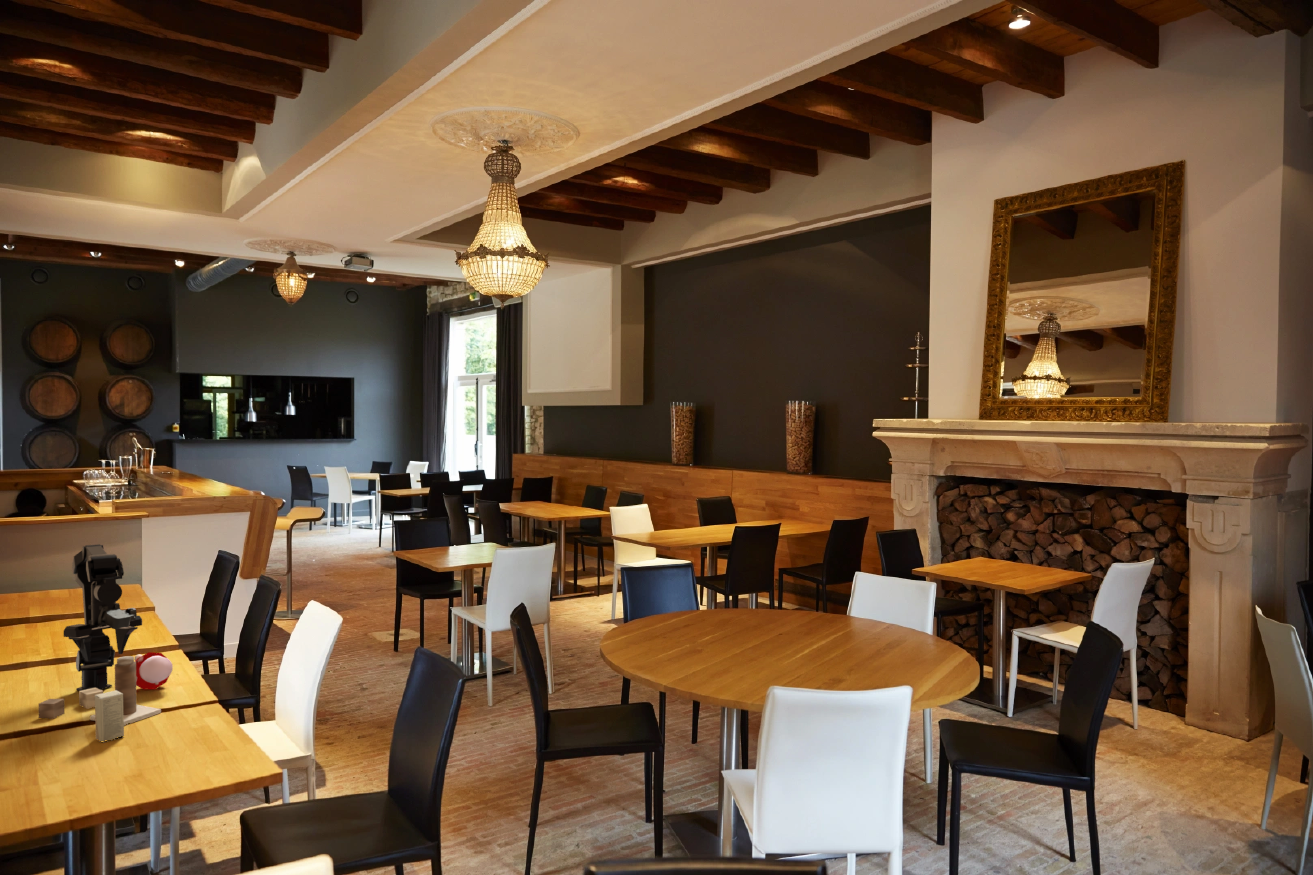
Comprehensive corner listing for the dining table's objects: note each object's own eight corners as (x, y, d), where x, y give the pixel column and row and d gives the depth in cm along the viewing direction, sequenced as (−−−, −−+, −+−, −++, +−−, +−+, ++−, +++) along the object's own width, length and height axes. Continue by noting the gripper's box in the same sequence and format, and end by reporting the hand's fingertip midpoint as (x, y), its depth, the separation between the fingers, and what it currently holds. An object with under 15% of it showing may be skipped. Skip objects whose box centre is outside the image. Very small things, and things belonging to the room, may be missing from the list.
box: (118, 733, 215) (118, 689, 214) (124, 737, 212) (124, 692, 212) (94, 739, 211) (94, 694, 210) (100, 743, 208) (100, 698, 208)
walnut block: (38, 718, 225) (38, 703, 225) (49, 713, 229) (49, 698, 229) (53, 718, 225) (53, 703, 224) (64, 713, 229) (64, 698, 228)
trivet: (90, 719, 224) (90, 715, 224) (129, 706, 234) (129, 703, 234) (122, 726, 220) (122, 722, 220) (160, 712, 230) (160, 709, 230)
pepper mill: (110, 715, 225) (110, 660, 224) (123, 708, 229) (122, 655, 229) (128, 715, 224) (128, 660, 224) (140, 709, 229) (140, 655, 229)
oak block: (79, 705, 235) (79, 691, 235) (95, 701, 239) (95, 687, 239) (86, 709, 232) (86, 694, 232) (103, 705, 236) (103, 690, 236)
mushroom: (136, 656, 242) (120, 658, 249) (143, 694, 241) (127, 695, 249) (176, 645, 250) (159, 648, 258) (183, 682, 250) (166, 684, 257)
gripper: (89, 606, 225) (90, 666, 224) (155, 596, 242) (156, 651, 242) (61, 605, 229) (62, 664, 229) (128, 595, 247) (129, 650, 246)
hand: (104, 657), depth 236 cm, fingers open, 9 cm apart
